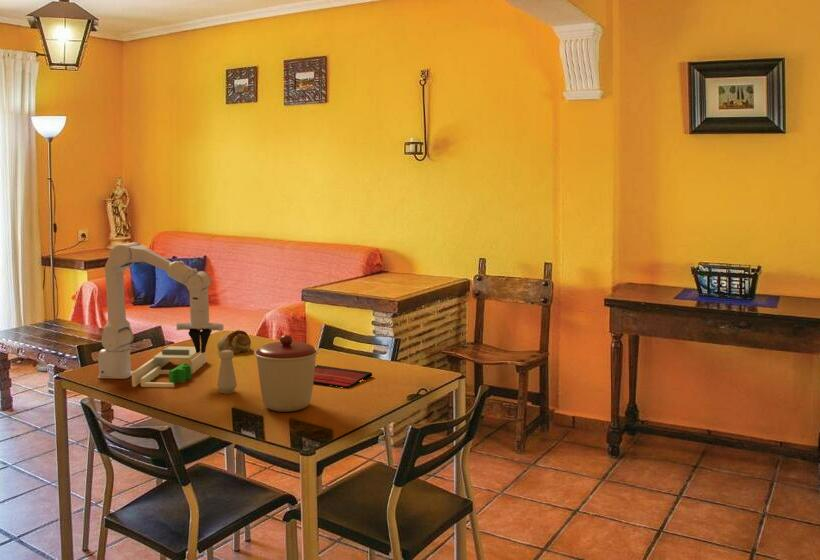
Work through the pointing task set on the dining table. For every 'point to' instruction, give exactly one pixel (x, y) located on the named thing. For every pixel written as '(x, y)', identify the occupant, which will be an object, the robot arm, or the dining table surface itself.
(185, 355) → the door
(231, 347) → the pastry
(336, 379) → the binder
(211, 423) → the dining table surface
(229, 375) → the salt shaker
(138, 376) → the housing
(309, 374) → the canister
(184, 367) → the pipe clamp
